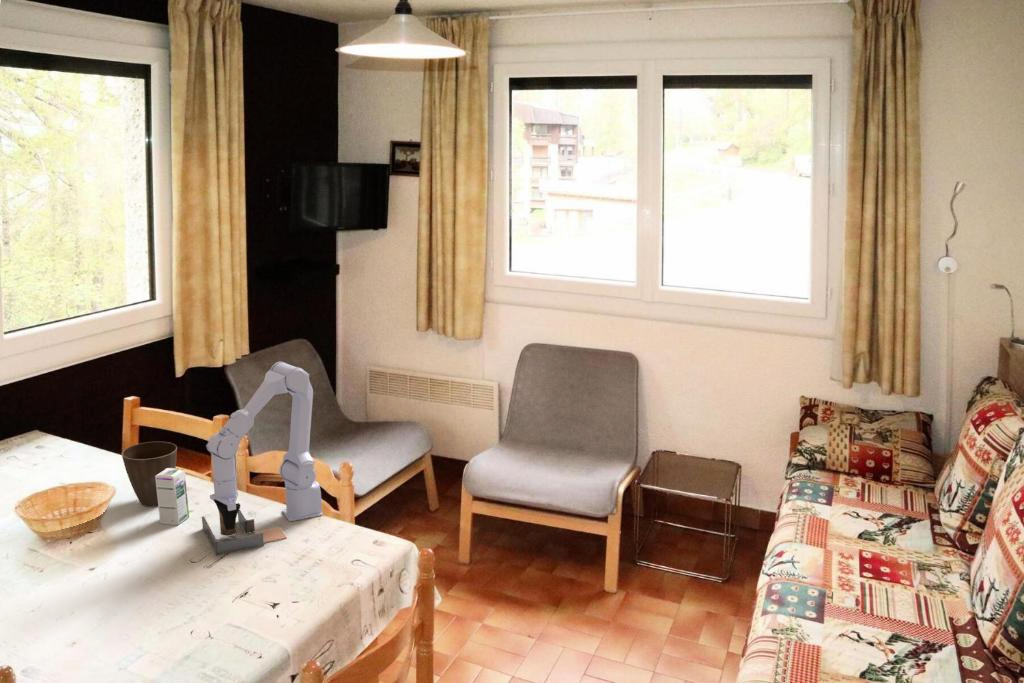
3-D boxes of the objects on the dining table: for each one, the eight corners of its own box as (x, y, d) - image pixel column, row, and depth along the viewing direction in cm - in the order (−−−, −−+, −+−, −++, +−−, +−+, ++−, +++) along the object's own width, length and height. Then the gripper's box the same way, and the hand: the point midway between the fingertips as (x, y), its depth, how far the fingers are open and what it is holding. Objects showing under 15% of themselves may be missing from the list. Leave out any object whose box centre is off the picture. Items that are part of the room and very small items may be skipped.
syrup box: (178, 525, 258) (174, 476, 255) (159, 523, 259) (154, 474, 256) (189, 517, 264) (185, 468, 260) (170, 515, 265) (166, 467, 261)
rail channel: (247, 519, 262) (246, 508, 261) (263, 546, 247) (263, 533, 246) (202, 528, 257) (201, 516, 256) (216, 555, 241) (215, 543, 240)
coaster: (279, 528, 257) (279, 527, 257) (286, 538, 251) (286, 537, 251) (253, 533, 254) (253, 532, 254) (260, 544, 248) (260, 542, 248)
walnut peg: (234, 527, 253) (232, 503, 252) (237, 533, 250) (236, 509, 248) (219, 530, 251) (217, 506, 250) (222, 536, 248) (220, 512, 246)
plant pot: (118, 500, 274) (113, 449, 270) (168, 487, 284) (164, 437, 280) (138, 517, 264) (133, 463, 260) (190, 502, 273) (185, 450, 269)
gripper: (203, 471, 251) (207, 518, 255) (214, 490, 239) (218, 539, 242) (230, 466, 255) (233, 513, 258) (242, 485, 242) (246, 533, 245)
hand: (228, 525), depth 250 cm, fingers closed on walnut peg, 4 cm apart
